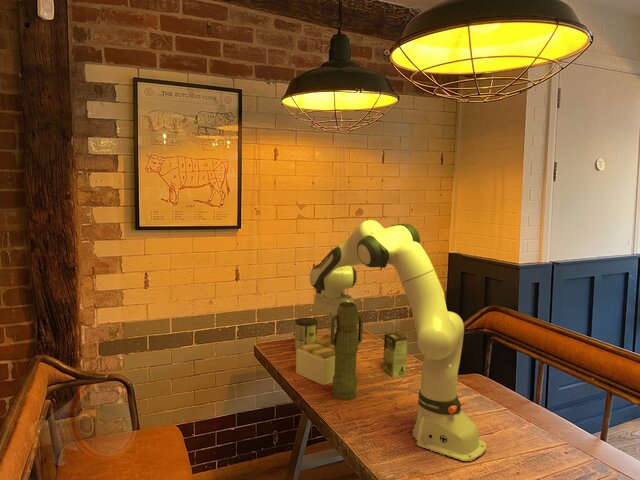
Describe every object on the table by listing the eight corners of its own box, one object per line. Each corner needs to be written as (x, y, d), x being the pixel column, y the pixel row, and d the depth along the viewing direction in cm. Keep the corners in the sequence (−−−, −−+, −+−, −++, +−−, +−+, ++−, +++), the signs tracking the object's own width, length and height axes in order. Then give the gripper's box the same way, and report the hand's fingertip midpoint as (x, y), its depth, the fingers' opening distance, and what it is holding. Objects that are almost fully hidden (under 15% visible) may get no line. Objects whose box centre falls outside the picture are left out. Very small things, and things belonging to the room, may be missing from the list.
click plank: (351, 346, 202) (351, 343, 201) (340, 353, 197) (339, 350, 197) (326, 337, 211) (326, 334, 211) (315, 344, 207) (315, 341, 206)
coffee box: (382, 369, 208) (383, 333, 206) (395, 367, 210) (397, 331, 208) (393, 378, 199) (395, 340, 197) (406, 376, 202) (408, 338, 200)
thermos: (364, 397, 181) (368, 305, 176) (335, 402, 176) (338, 308, 172) (353, 388, 189) (356, 299, 184) (325, 392, 184) (328, 301, 180)
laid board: (338, 354, 196) (338, 350, 196) (325, 359, 191) (325, 355, 190) (314, 345, 206) (314, 341, 206) (300, 349, 200) (300, 346, 200)
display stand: (353, 373, 203) (354, 349, 202) (323, 385, 190) (324, 360, 189) (326, 362, 214) (326, 340, 213) (295, 373, 201) (296, 349, 200)
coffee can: (302, 344, 236) (303, 316, 234) (320, 349, 230) (321, 319, 229) (290, 350, 227) (290, 321, 225) (308, 355, 222) (309, 325, 220)
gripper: (358, 295, 200) (356, 327, 202) (322, 285, 214) (321, 316, 216) (348, 297, 195) (346, 331, 197) (312, 287, 209) (310, 319, 211)
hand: (333, 323), depth 206 cm, fingers closed
